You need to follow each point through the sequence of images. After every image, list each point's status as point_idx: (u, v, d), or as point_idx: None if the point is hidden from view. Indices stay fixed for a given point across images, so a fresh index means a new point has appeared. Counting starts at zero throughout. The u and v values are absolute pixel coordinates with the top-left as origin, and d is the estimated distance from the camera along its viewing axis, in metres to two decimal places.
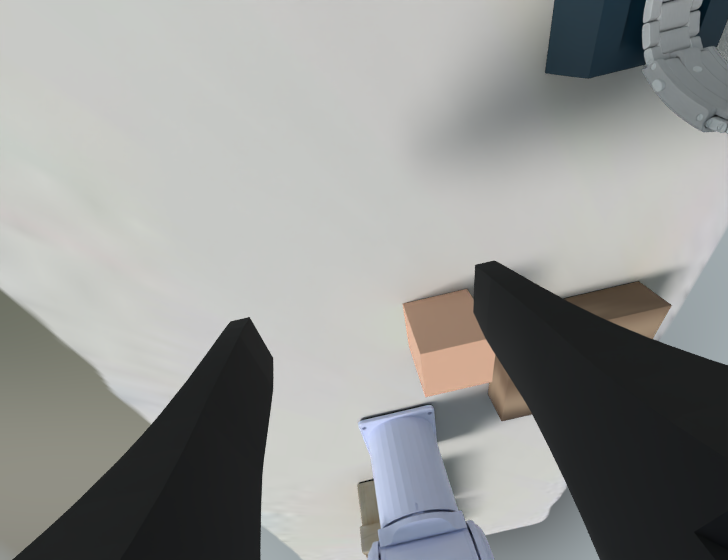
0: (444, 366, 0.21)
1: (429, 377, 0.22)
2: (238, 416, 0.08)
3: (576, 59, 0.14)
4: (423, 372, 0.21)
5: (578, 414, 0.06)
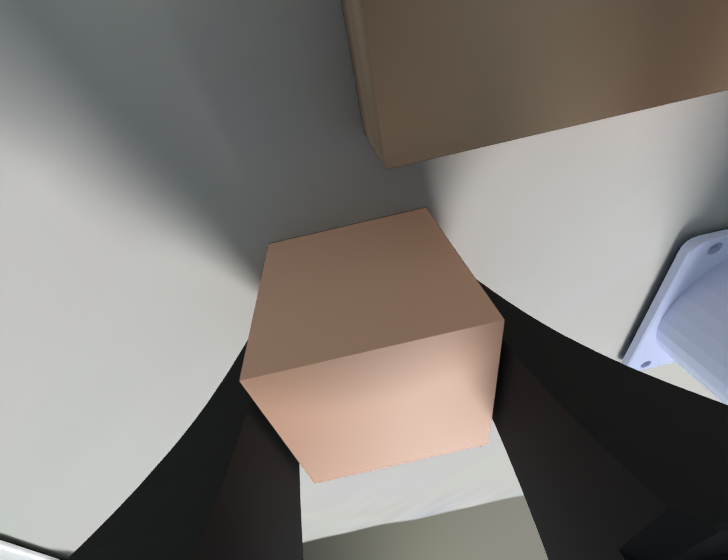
0: (367, 444, 0.08)
1: (405, 455, 0.09)
2: None
3: None
4: (383, 466, 0.09)
5: (527, 426, 0.06)
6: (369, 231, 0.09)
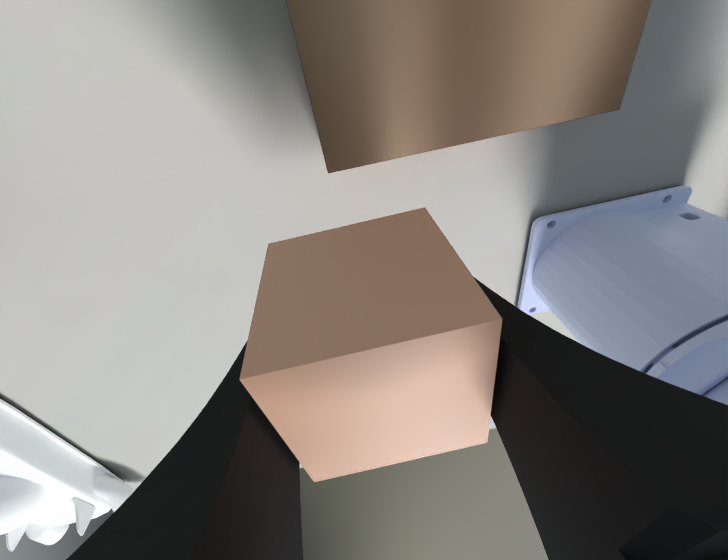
0: (367, 443, 0.08)
1: (404, 454, 0.09)
2: None
3: None
4: (382, 465, 0.09)
5: (527, 426, 0.06)
6: (368, 231, 0.09)
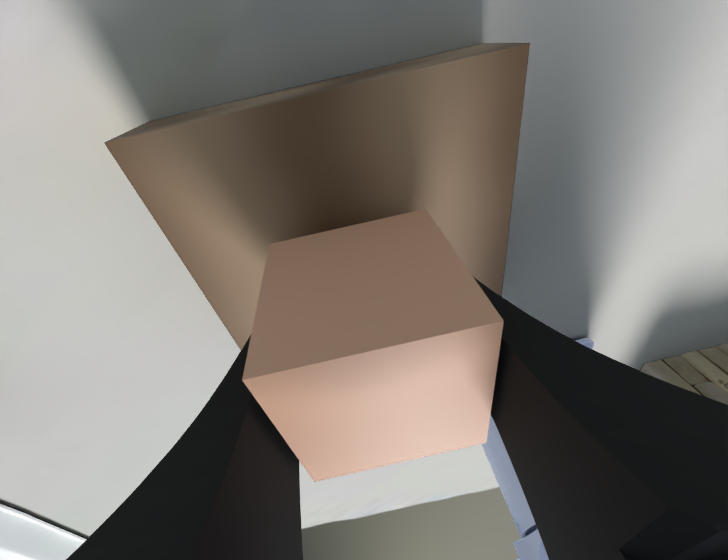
0: (367, 443, 0.08)
1: (404, 453, 0.09)
2: None
3: None
4: (382, 464, 0.09)
5: (528, 426, 0.06)
6: (369, 232, 0.09)
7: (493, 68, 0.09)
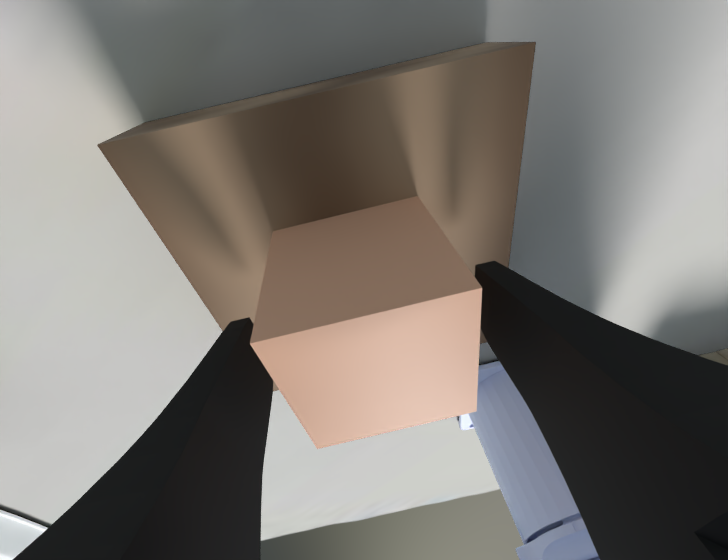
0: (365, 410, 0.09)
1: (400, 421, 0.09)
2: (238, 416, 0.08)
3: None
4: (380, 432, 0.10)
5: (578, 414, 0.06)
6: (365, 218, 0.10)
7: (498, 68, 0.09)
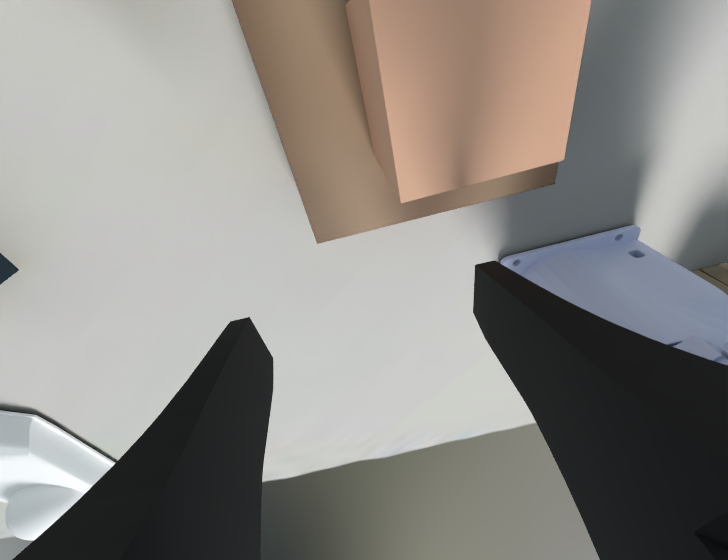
0: (457, 136, 0.09)
1: (488, 165, 0.09)
2: (238, 416, 0.08)
3: None
4: (465, 184, 0.09)
5: (578, 414, 0.06)
6: None
7: None
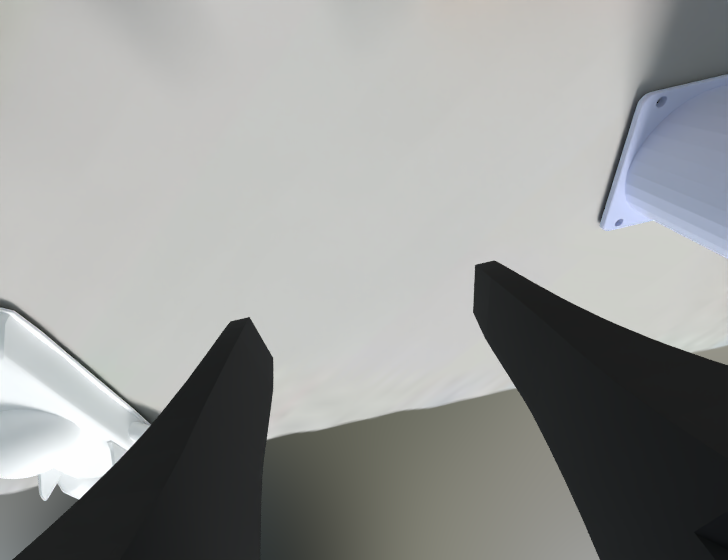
0: None
1: None
2: (238, 416, 0.08)
3: None
4: None
5: (578, 414, 0.06)
6: None
7: None
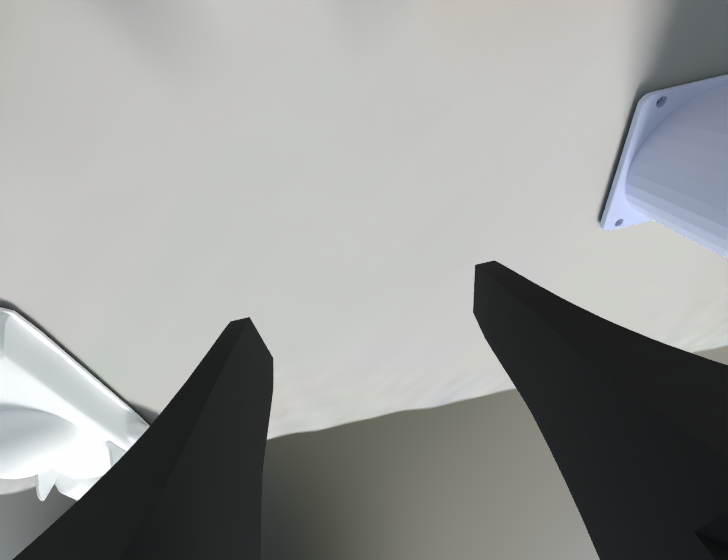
0: None
1: None
2: (238, 416, 0.08)
3: None
4: None
5: (578, 414, 0.06)
6: None
7: None
